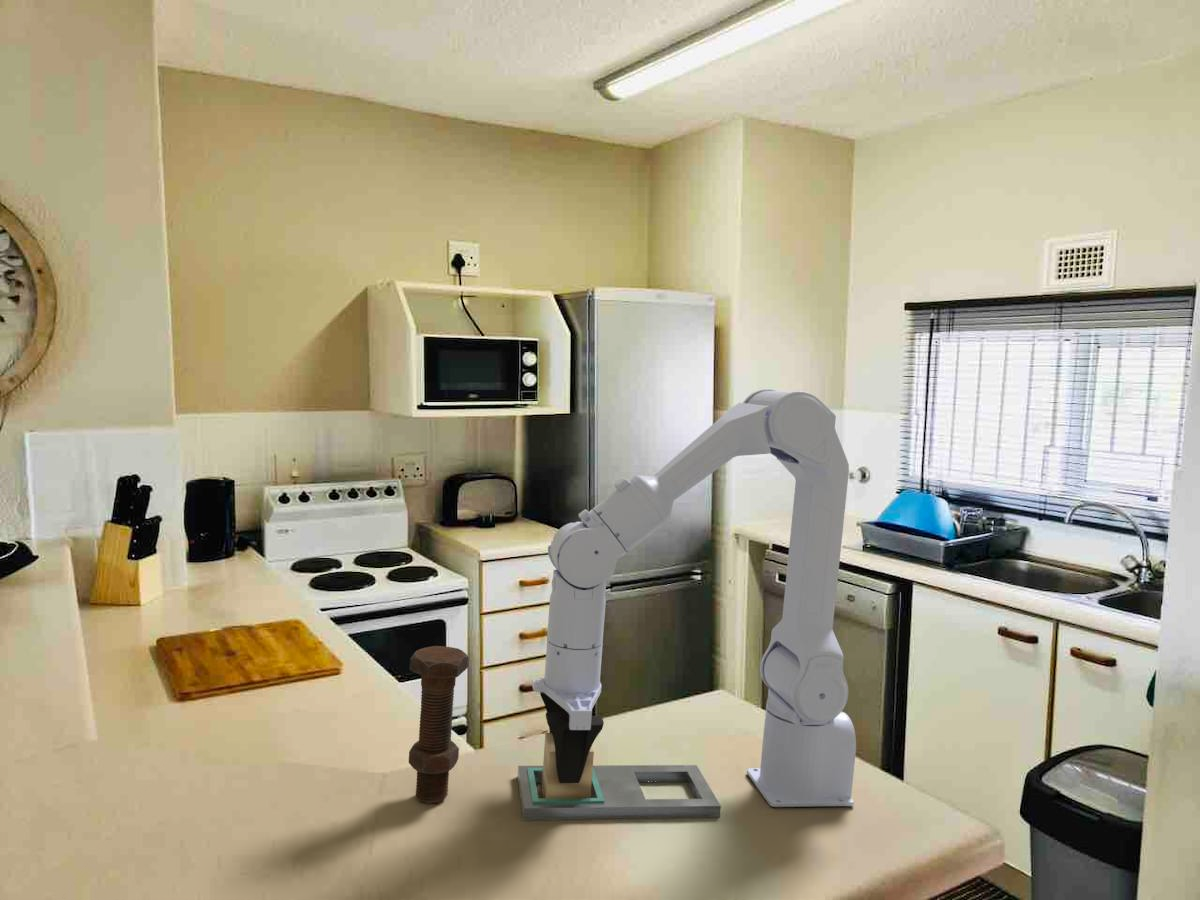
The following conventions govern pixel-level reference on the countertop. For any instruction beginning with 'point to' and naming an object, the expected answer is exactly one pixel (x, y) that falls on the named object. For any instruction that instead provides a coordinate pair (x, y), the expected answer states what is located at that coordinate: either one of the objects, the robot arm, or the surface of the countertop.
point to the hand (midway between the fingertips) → (565, 768)
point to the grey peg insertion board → (620, 794)
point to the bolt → (435, 719)
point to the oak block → (551, 778)
